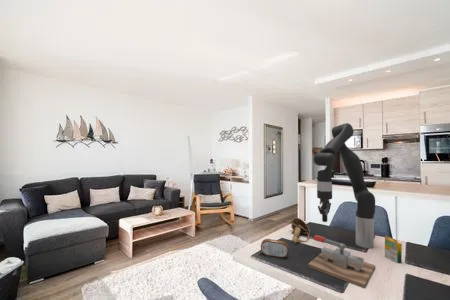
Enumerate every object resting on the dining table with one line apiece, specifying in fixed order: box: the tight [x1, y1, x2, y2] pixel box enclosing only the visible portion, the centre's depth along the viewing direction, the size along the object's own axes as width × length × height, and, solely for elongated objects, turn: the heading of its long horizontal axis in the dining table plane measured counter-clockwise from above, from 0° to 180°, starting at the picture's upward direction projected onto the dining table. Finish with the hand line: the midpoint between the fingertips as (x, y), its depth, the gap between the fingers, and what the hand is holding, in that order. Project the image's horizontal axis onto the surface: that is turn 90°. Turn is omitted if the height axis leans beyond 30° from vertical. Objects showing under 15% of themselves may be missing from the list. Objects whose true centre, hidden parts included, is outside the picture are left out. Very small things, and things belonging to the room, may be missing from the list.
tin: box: [260, 238, 290, 259], centre depth 121 cm, size 15×3×8 cm, turn 71°
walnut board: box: [307, 252, 376, 289], centre depth 109 cm, size 22×24×2 cm
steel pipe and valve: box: [320, 246, 365, 272], centre depth 109 cm, size 6×18×6 cm, turn 47°
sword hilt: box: [289, 217, 311, 245], centre depth 147 cm, size 10×24×15 cm
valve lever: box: [313, 234, 346, 252], centre depth 113 cm, size 15×3×4 cm, turn 40°
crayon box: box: [384, 235, 403, 264], centre depth 117 cm, size 7×3×12 cm, turn 11°
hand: (324, 221), depth 121 cm, fingers closed
